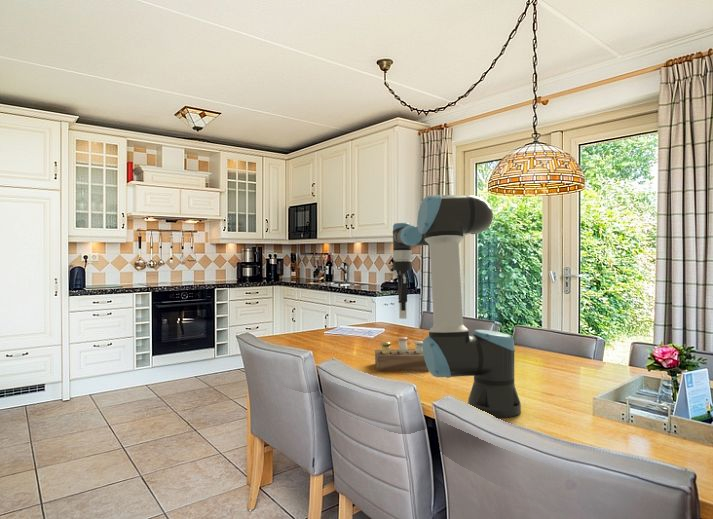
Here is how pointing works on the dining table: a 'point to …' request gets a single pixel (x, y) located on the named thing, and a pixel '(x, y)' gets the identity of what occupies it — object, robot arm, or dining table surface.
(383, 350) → the brass plug
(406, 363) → the brown wooden block
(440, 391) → the dining table surface
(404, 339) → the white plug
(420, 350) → the grey plug
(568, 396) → the dining table surface
